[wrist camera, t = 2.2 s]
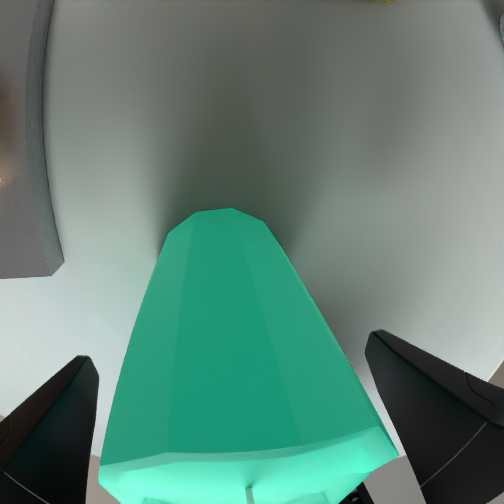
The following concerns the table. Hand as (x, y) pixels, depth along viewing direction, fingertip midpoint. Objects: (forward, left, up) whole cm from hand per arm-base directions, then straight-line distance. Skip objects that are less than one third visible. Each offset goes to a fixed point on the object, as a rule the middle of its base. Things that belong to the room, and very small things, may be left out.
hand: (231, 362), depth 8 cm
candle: (0, 0, -6) cm, 6 cm away
